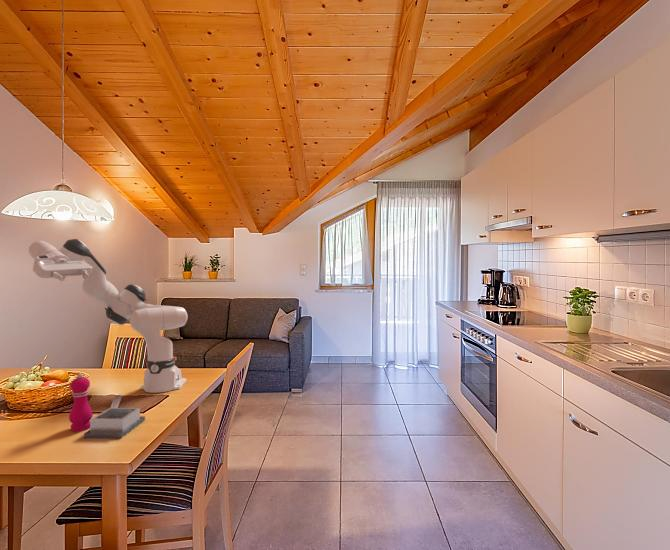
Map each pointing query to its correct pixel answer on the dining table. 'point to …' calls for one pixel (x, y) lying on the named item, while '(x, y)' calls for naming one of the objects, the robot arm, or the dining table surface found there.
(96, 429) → the socket stand
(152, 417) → the dining table surface
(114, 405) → the adjustable wrench
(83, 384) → the pepper mill
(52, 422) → the dining table surface
